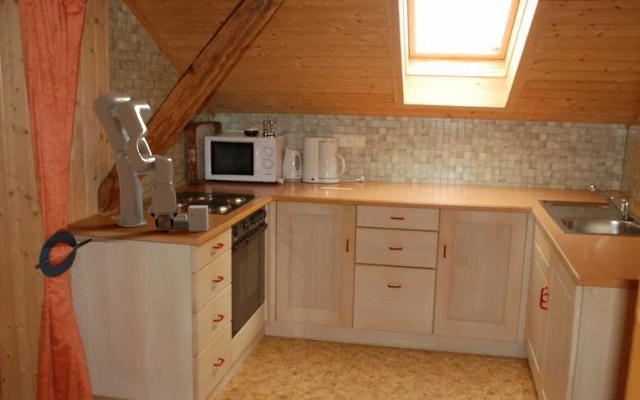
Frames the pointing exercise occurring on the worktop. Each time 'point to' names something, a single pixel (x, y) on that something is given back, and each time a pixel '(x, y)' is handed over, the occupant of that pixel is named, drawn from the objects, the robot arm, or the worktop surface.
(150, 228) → the worktop surface
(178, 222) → the grey open tray
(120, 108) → the robot arm
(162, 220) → the walnut brick
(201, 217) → the small box
